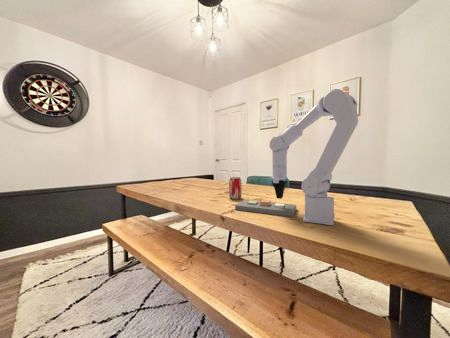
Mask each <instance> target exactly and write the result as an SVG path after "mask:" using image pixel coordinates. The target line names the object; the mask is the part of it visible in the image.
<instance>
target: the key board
mask: <svg viewBox="0 0 450 338" xmlns="http://www.w3.org/2000/svg"><path fill="white" fill-rule="evenodd" d="M249 201H253V200H252V199H251V200H250V199H244V200H242V201H241V202H238V203H237V204H235V205H234V210H235V211H243V212H249V213H256V214H257V213H259V214H265V215H273V216H282V217H290V218H293V216H294V215H295V212H296V210H297V204H292V203H282V202H281V203H280V202H271V206H269V207H267V206H260V201H261V200H257V201H258V204H257V205H249V204H247V202H249ZM276 203H278V204H285V207H284V208H276V207H274V205H275V204H276Z"/></svg>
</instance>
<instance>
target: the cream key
mask: <svg viewBox="0 0 450 338" xmlns="http://www.w3.org/2000/svg"><path fill="white" fill-rule="evenodd" d="M275 203H276V204H275V205H274V207H276V208H284V207H285V204H286V203H283V204H278V203H279V202H275Z"/></svg>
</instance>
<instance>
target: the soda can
mask: <svg viewBox="0 0 450 338" xmlns="http://www.w3.org/2000/svg"><path fill="white" fill-rule="evenodd" d="M228 188H229V189H228V190H229V191H228V196H229V198H231V199H232V200H238V199H239V200H240V199H241V198H242V188H243V187H242V179H241V177H240V176H230V178H229V180H228Z"/></svg>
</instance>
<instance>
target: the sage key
mask: <svg viewBox="0 0 450 338" xmlns="http://www.w3.org/2000/svg"><path fill="white" fill-rule="evenodd" d="M258 201H259V200H252V201H249V202H247V204H249V205H257V204H258Z"/></svg>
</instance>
